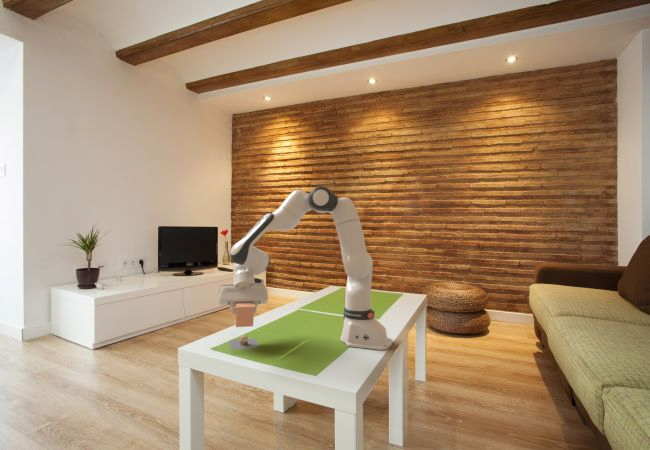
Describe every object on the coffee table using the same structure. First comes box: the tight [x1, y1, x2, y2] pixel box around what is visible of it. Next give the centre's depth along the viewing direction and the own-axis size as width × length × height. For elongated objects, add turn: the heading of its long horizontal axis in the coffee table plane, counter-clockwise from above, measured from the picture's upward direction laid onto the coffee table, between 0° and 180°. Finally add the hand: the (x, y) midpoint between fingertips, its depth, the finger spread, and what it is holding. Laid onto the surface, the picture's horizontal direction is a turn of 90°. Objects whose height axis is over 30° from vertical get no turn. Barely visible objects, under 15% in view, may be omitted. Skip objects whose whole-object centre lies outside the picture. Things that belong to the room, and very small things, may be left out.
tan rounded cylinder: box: [239, 335, 249, 345], centre depth 144 cm, size 3×3×3 cm
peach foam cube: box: [234, 303, 255, 328], centre depth 144 cm, size 7×7×8 cm
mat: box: [229, 338, 260, 351], centre depth 144 cm, size 11×11×1 cm
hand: (244, 312), depth 145 cm, fingers closed on peach foam cube, 7 cm apart
